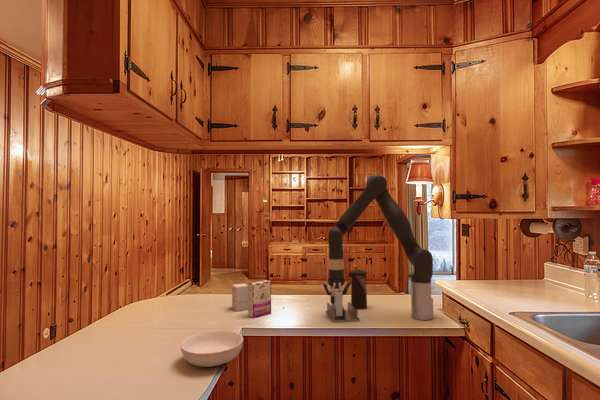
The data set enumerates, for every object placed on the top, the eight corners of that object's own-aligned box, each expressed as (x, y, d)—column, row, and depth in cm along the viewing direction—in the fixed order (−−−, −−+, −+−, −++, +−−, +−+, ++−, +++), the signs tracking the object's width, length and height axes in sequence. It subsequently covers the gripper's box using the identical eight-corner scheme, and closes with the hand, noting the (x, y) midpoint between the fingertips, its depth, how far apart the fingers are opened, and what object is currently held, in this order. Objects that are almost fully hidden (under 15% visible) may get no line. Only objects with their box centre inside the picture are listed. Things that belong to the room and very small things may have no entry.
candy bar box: (265, 311, 177) (265, 279, 177) (271, 313, 173) (271, 281, 173) (247, 316, 169) (247, 282, 170) (253, 318, 165) (253, 284, 166)
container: (363, 310, 178) (363, 271, 179) (347, 308, 183) (347, 270, 183) (369, 306, 185) (369, 269, 186) (354, 304, 190) (353, 268, 191)
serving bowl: (189, 349, 128) (189, 330, 129) (245, 347, 130) (245, 329, 130) (172, 376, 108) (172, 353, 108) (239, 373, 109) (239, 351, 109)
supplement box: (244, 306, 187) (244, 282, 187) (249, 309, 180) (249, 285, 181) (231, 308, 183) (231, 284, 183) (236, 311, 177) (236, 287, 177)
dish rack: (350, 311, 176) (350, 301, 176) (359, 321, 160) (359, 310, 161) (325, 312, 175) (325, 302, 175) (332, 322, 159) (332, 311, 159)
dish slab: (336, 308, 173) (336, 288, 174) (342, 315, 162) (342, 294, 162) (331, 308, 173) (330, 288, 173) (336, 315, 161) (336, 294, 162)
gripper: (348, 266, 173) (348, 301, 172) (320, 267, 171) (320, 302, 170) (352, 268, 165) (352, 305, 165) (323, 269, 164) (323, 306, 163)
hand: (336, 303), depth 168 cm, fingers closed on dish slab, 3 cm apart
